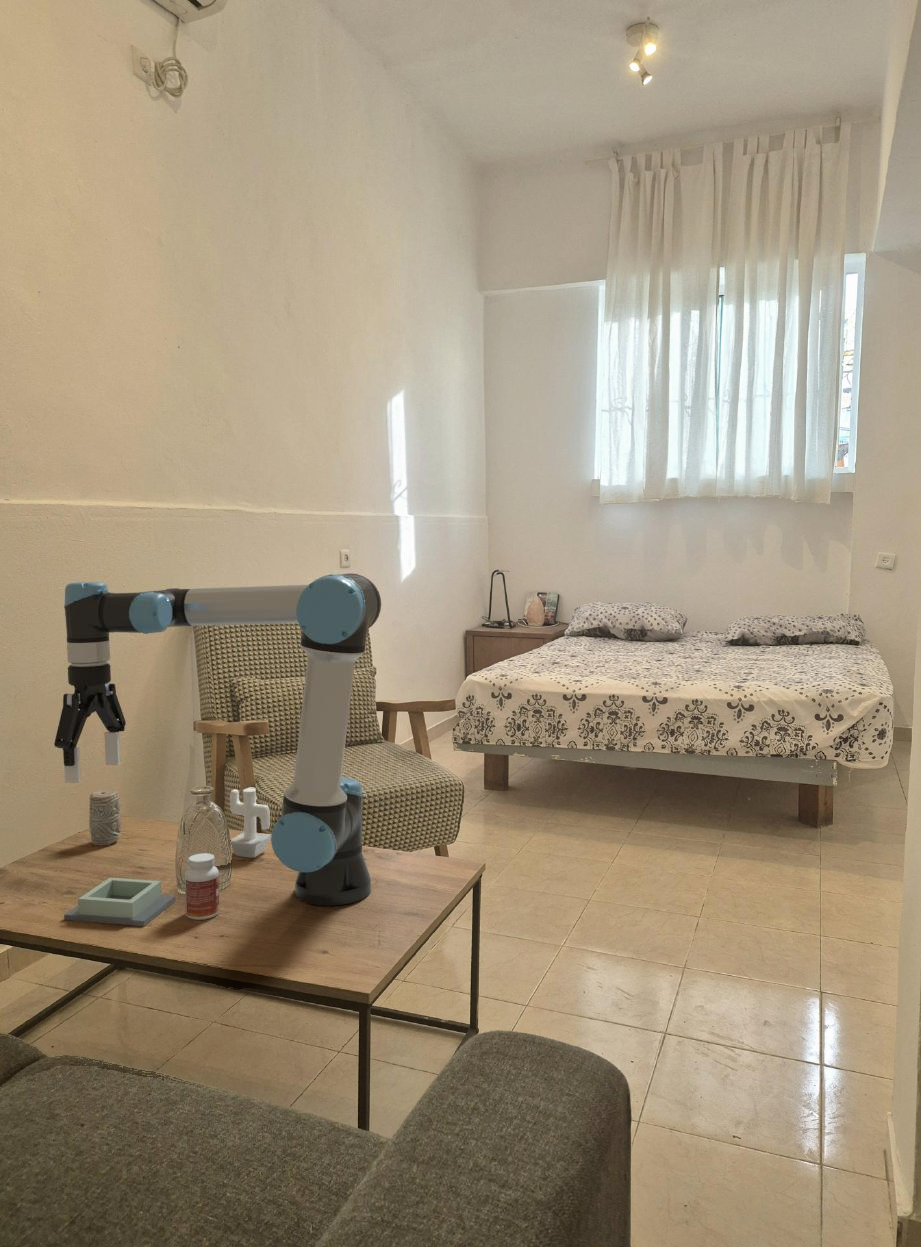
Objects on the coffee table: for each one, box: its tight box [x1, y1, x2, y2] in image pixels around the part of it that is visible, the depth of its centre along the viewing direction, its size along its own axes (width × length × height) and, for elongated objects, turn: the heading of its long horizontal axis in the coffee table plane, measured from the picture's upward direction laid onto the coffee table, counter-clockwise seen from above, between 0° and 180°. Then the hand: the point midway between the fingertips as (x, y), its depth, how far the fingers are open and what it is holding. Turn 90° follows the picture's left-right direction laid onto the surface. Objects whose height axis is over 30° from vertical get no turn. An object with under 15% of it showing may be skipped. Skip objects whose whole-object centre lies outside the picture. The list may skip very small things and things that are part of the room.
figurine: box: [229, 786, 272, 859], centre depth 202 cm, size 7×9×15 cm
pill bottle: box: [184, 852, 220, 921], centre depth 169 cm, size 6×6×11 cm
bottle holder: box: [63, 877, 176, 927], centre depth 171 cm, size 16×12×4 cm
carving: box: [88, 790, 122, 847], centre depth 209 cm, size 6×8×12 cm
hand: (93, 773), depth 172 cm, fingers open, 13 cm apart
